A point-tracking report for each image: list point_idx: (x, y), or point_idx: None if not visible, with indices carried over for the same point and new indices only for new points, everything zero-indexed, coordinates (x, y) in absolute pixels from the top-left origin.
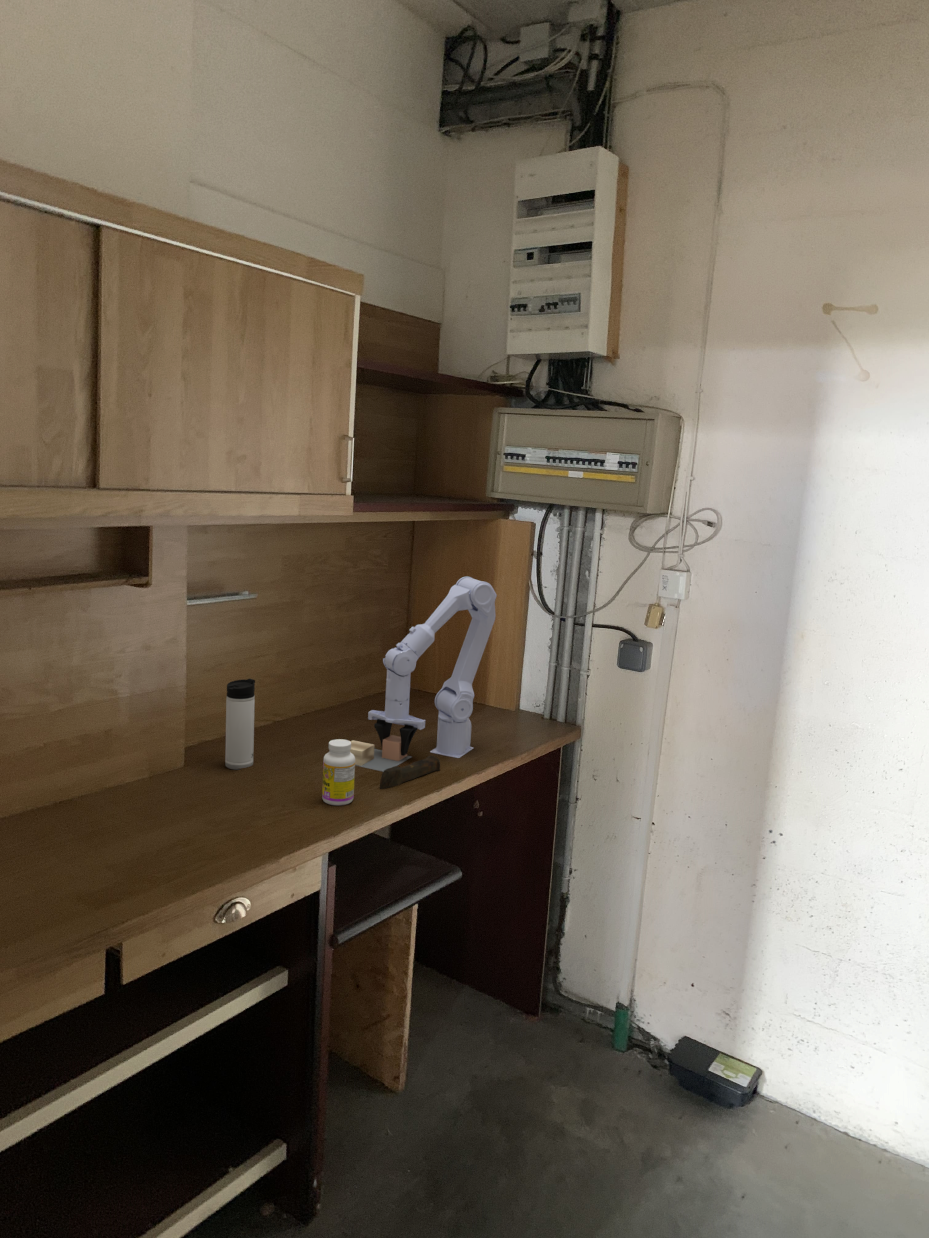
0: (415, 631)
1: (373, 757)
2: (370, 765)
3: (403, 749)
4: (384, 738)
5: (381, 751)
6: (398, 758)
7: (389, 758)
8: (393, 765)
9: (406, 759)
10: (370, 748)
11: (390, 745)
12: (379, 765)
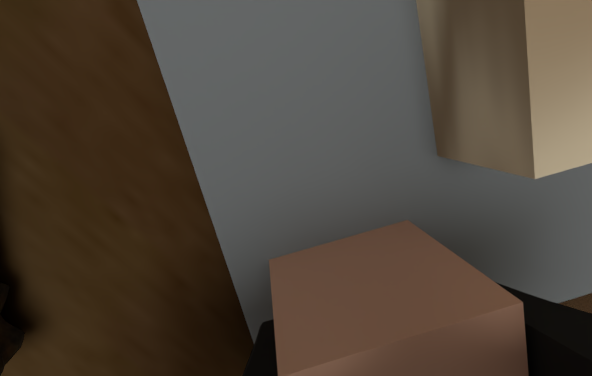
0: None
1: (442, 151)
2: (352, 4)
3: (252, 358)
4: (533, 349)
5: None
6: (270, 270)
7: (346, 240)
8: (221, 159)
9: (254, 327)
10: (510, 84)
11: (385, 303)
12: (299, 67)
